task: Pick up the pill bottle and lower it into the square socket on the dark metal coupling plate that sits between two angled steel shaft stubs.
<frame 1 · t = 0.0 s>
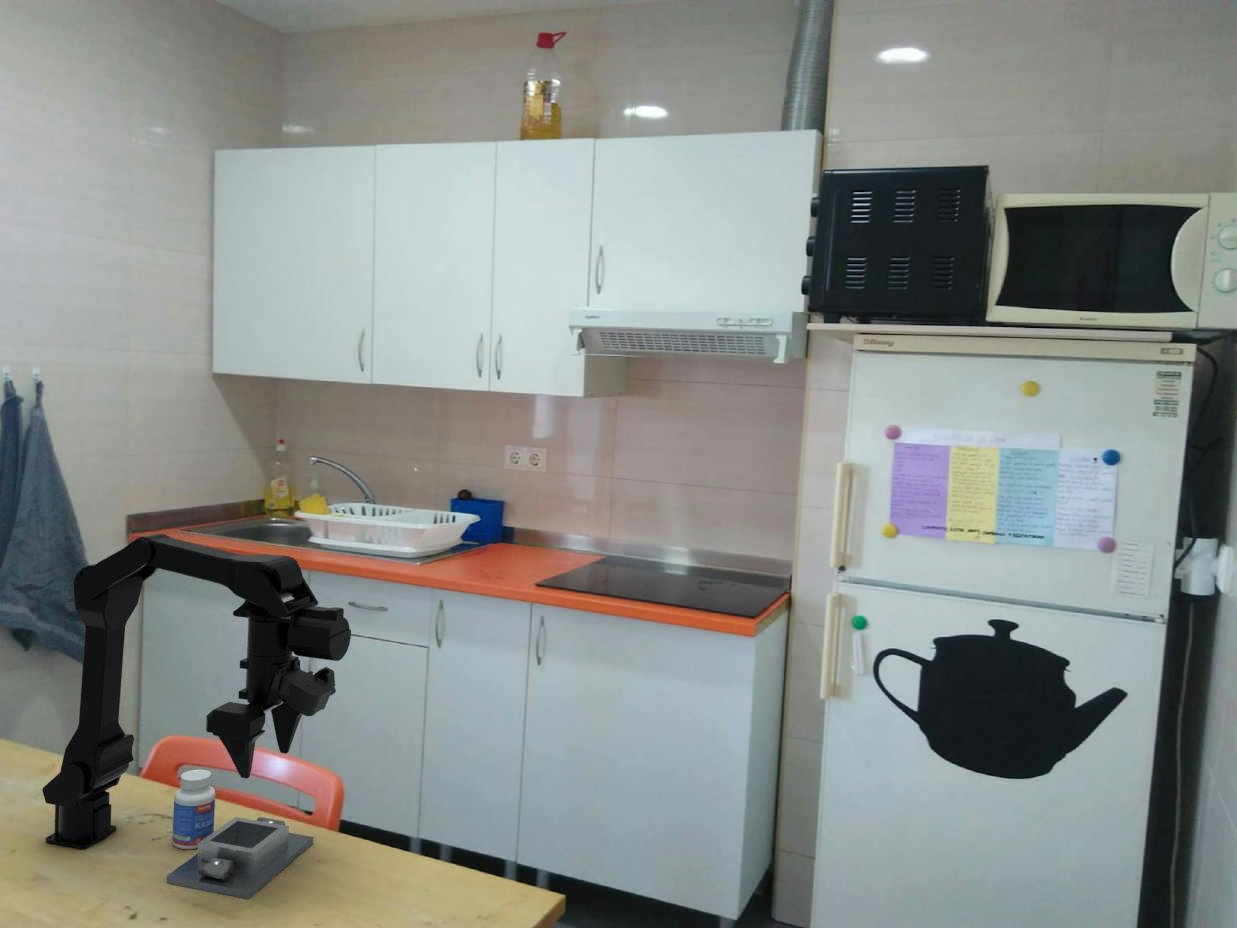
hand: (265, 764, 130), 15 cm above the table, fingers open, 9 cm apart
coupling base: (243, 862, 133), on the table
pill bottle: (193, 842, 138), on the table
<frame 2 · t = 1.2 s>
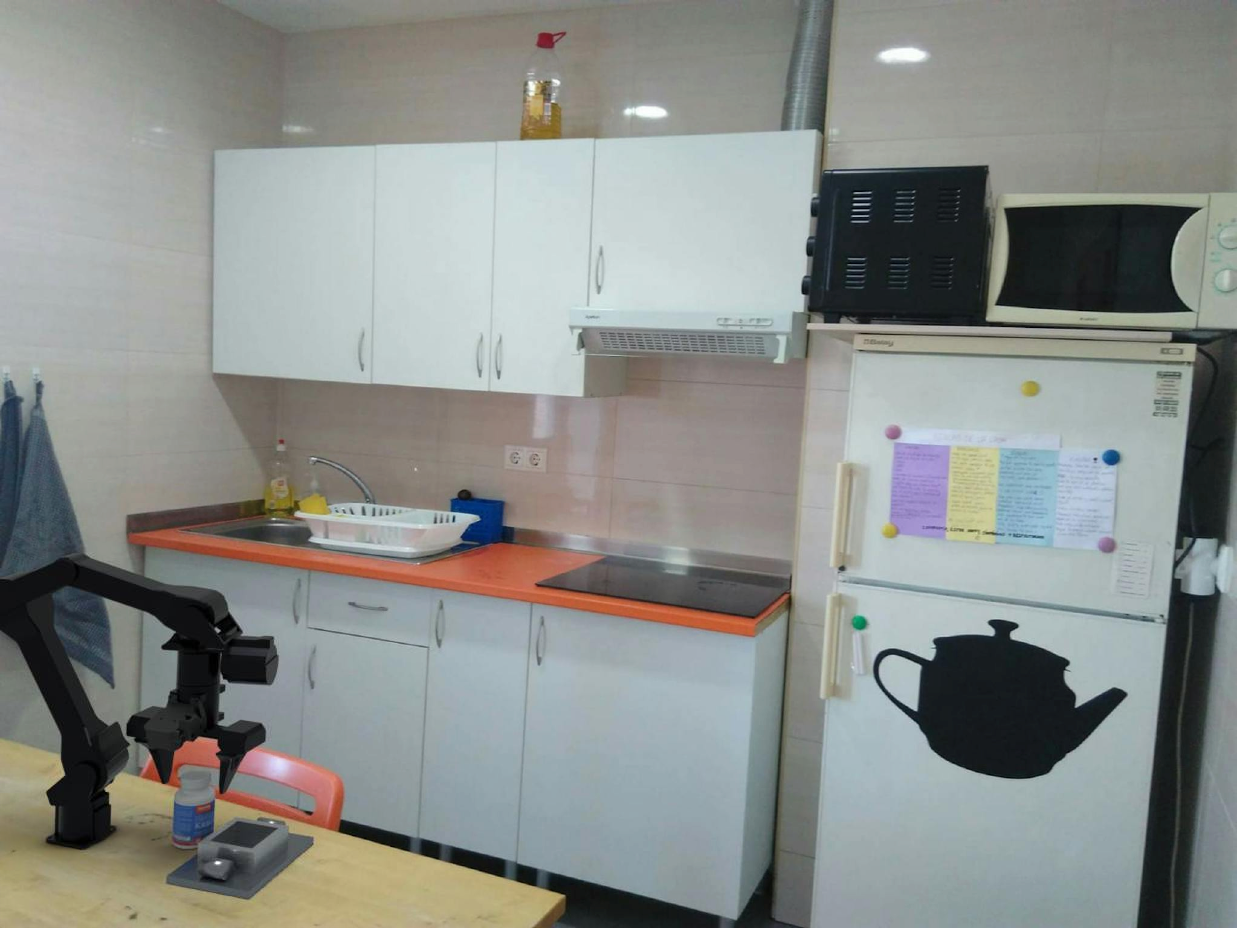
hand: (194, 788, 137), 8 cm above the table, fingers open, 9 cm apart
nothing on the table moved.
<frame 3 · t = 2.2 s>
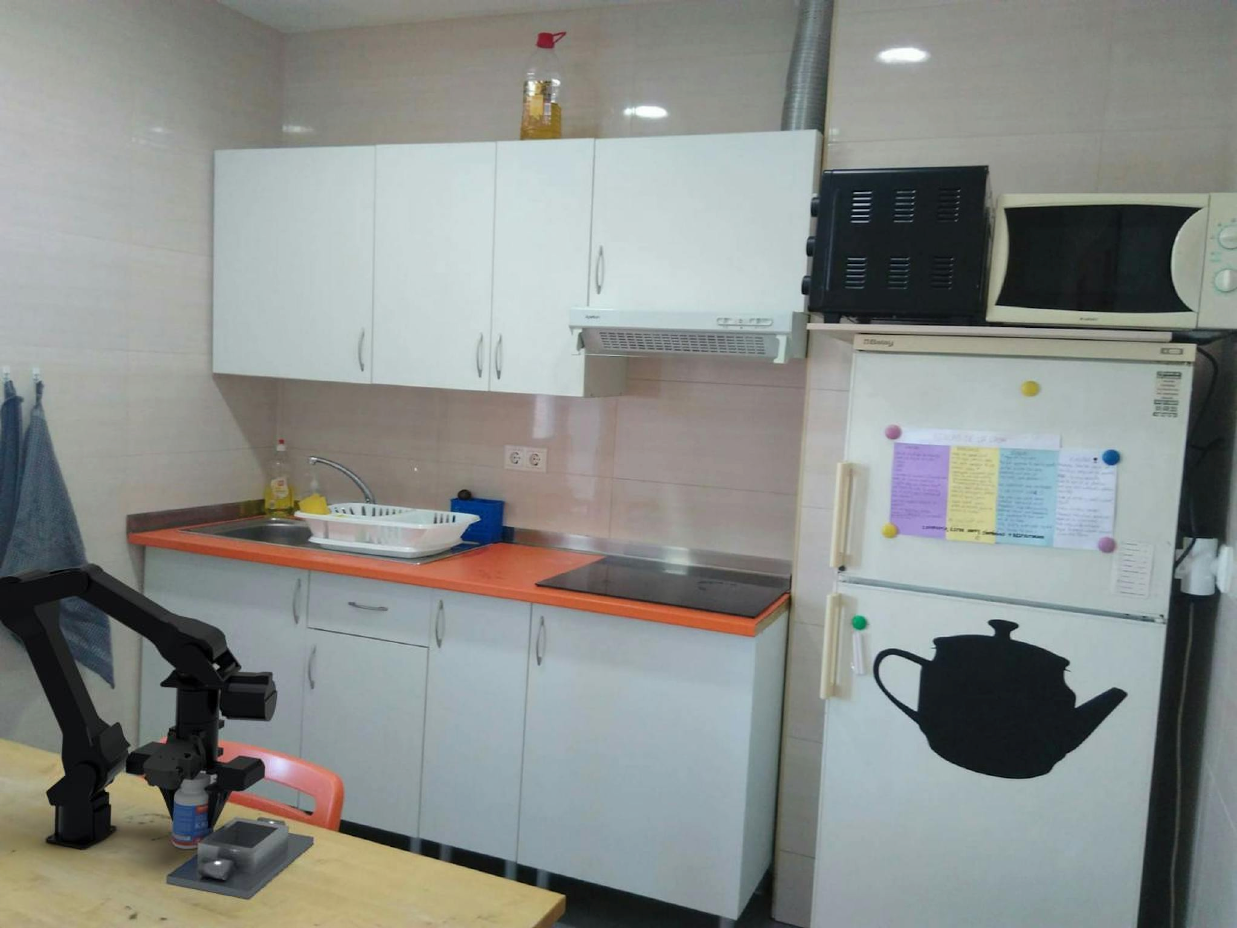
hand: (193, 823, 138), 3 cm above the table, fingers closed on pill bottle, 5 cm apart
pill bottle: (193, 842, 138), on the table, touching gripper
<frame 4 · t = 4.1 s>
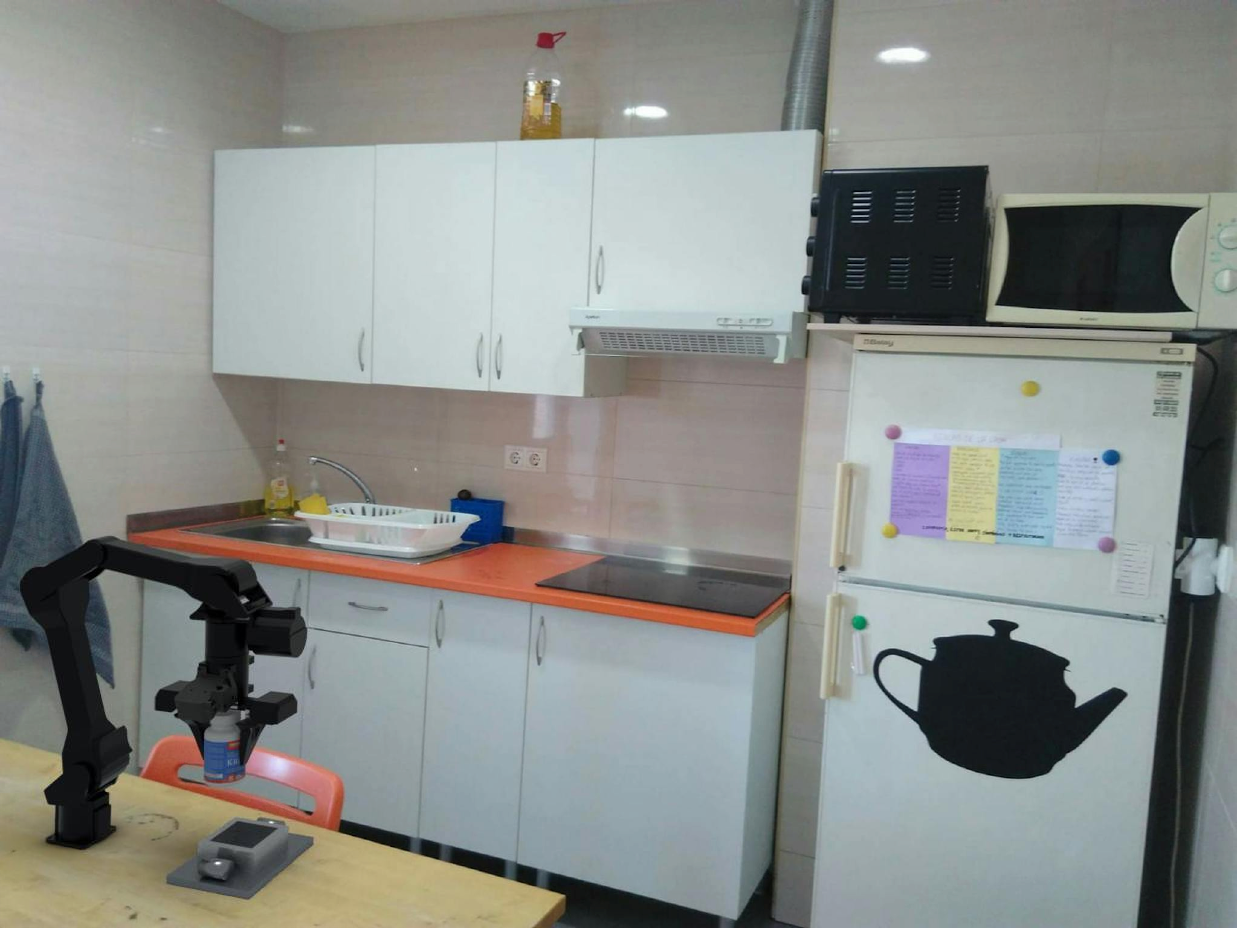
hand: (225, 762, 134), 13 cm above the table, fingers closed on pill bottle, 5 cm apart
pill bottle: (225, 781, 135), point 10 cm above the table, touching gripper
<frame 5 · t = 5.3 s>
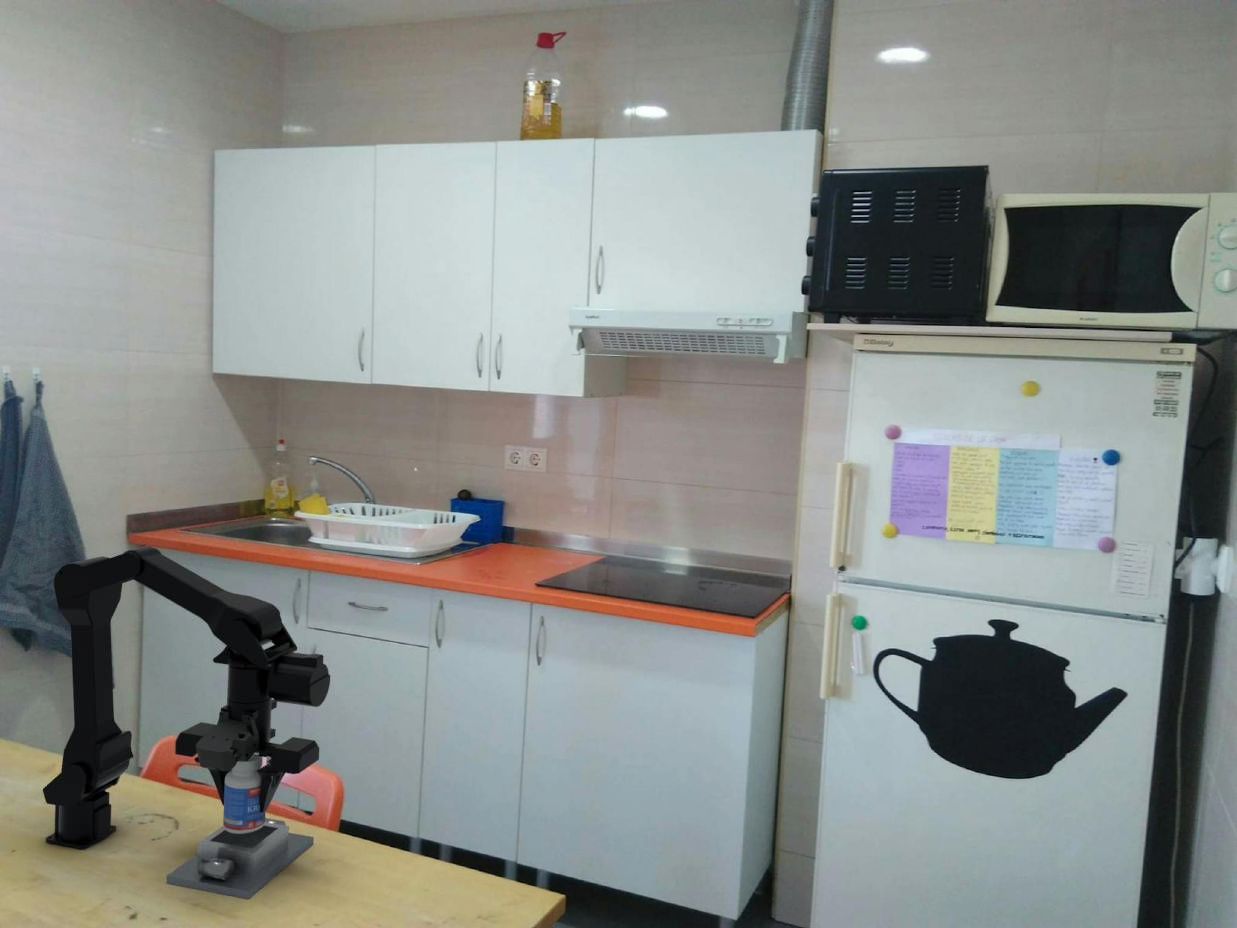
hand: (244, 807, 132), 8 cm above the table, fingers closed on pill bottle, 5 cm apart
pill bottle: (244, 827, 133), point 5 cm above the table, touching gripper
when the fingers open (5 cm above the table, at t = 6.2 s): pill bottle drops 1 cm, resting on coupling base.
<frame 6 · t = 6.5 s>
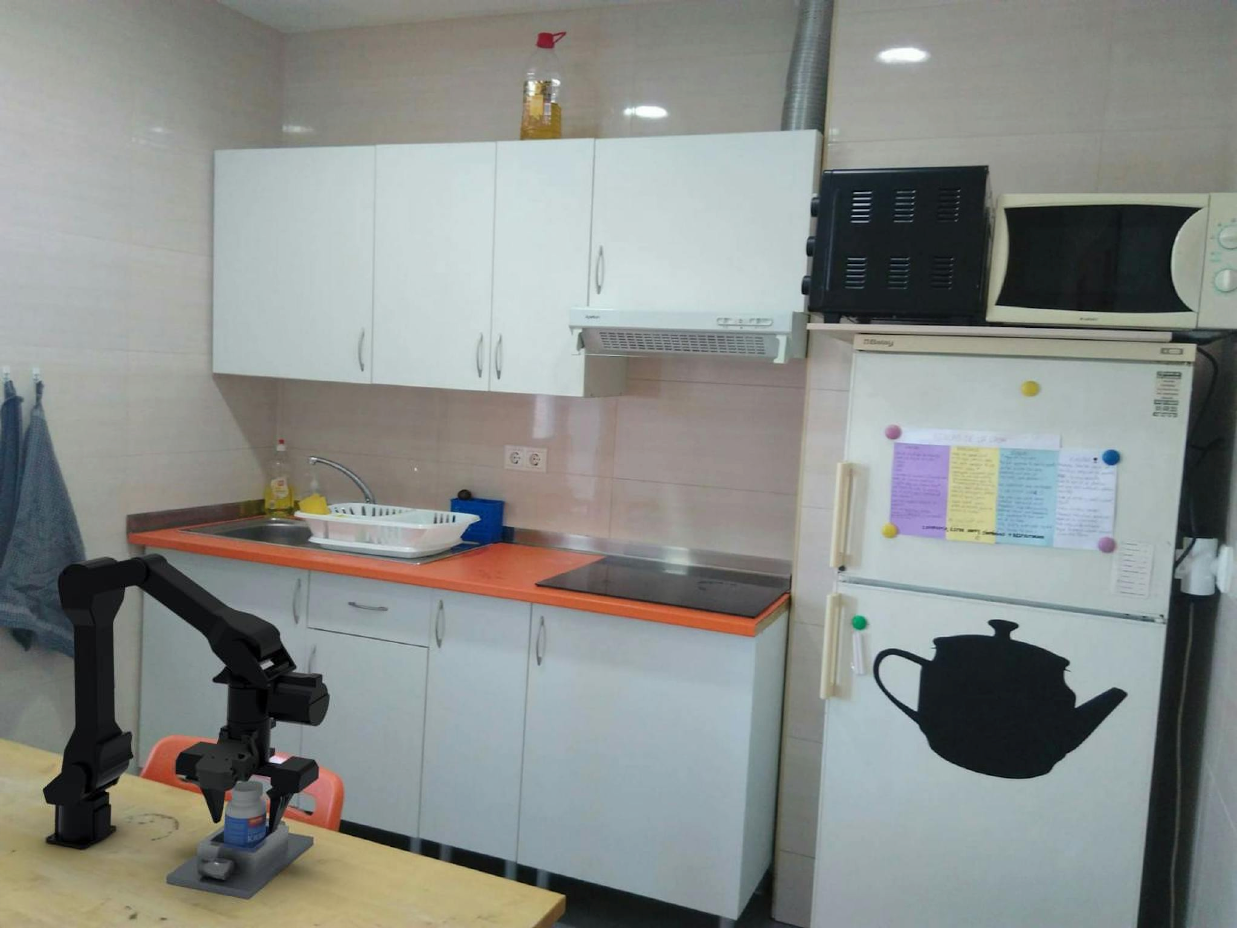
hand: (244, 827, 133), 5 cm above the table, fingers open, 8 cm apart
pill bottle: (244, 856, 133), point 1 cm above the table, touching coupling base
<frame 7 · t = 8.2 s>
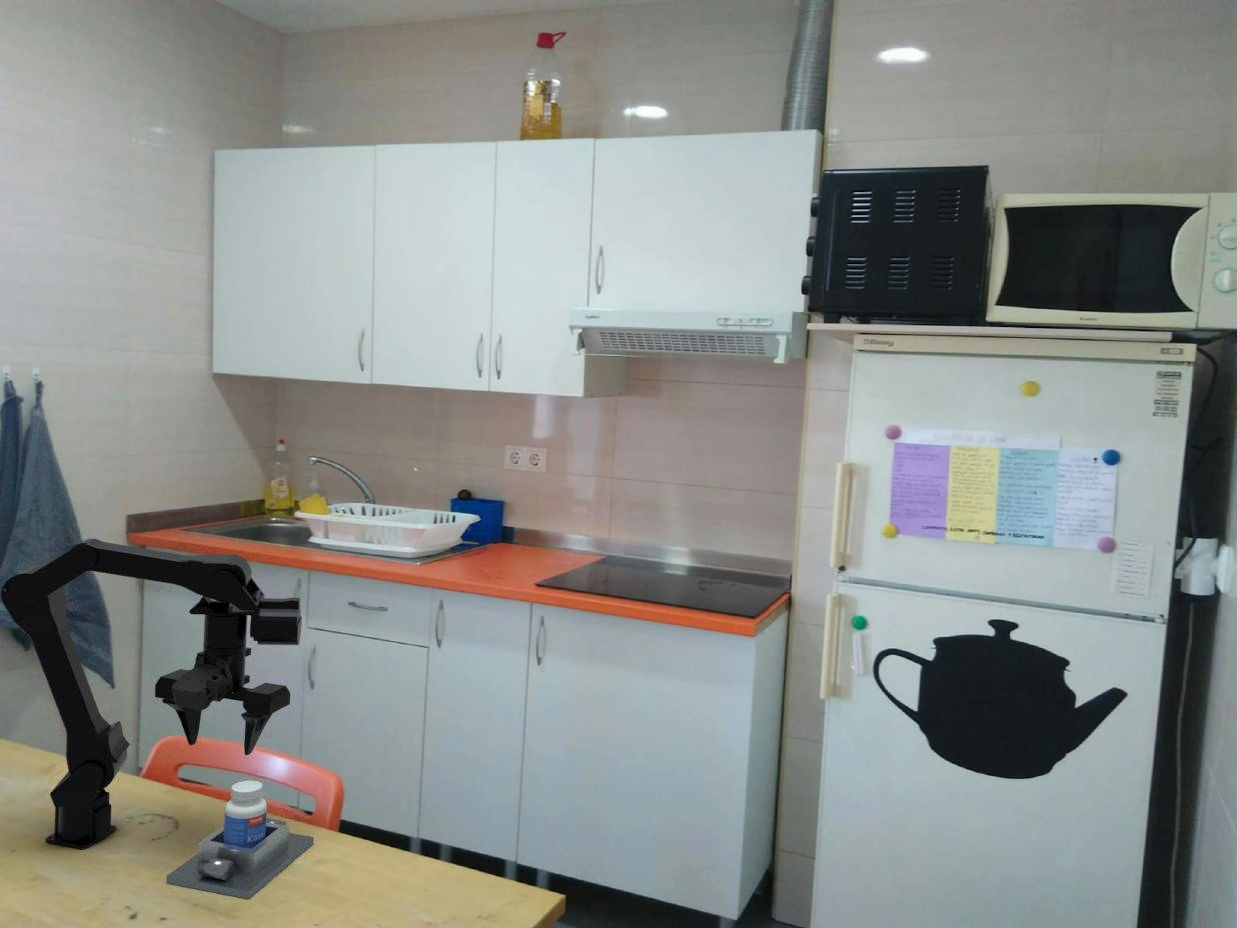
hand: (220, 749, 140), 12 cm above the table, fingers open, 9 cm apart
nothing on the table moved.
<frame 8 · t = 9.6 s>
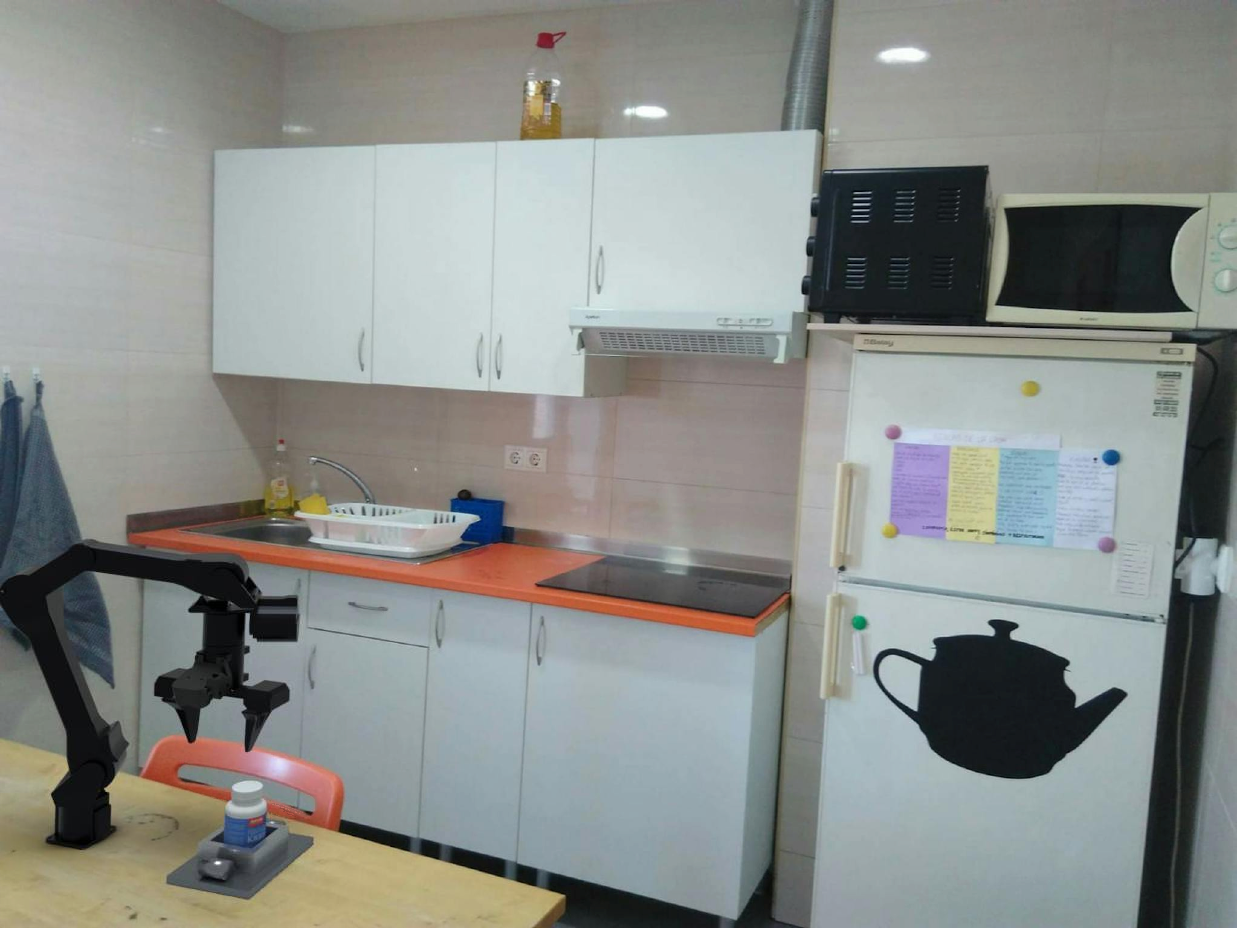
hand: (219, 747, 141), 13 cm above the table, fingers open, 9 cm apart
nothing on the table moved.
at the end: pill bottle 0.0 cm off-centre on the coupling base, point 0.8 cm above the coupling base's base; pill bottle tilted 0°; the gripper is holding nothing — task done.
